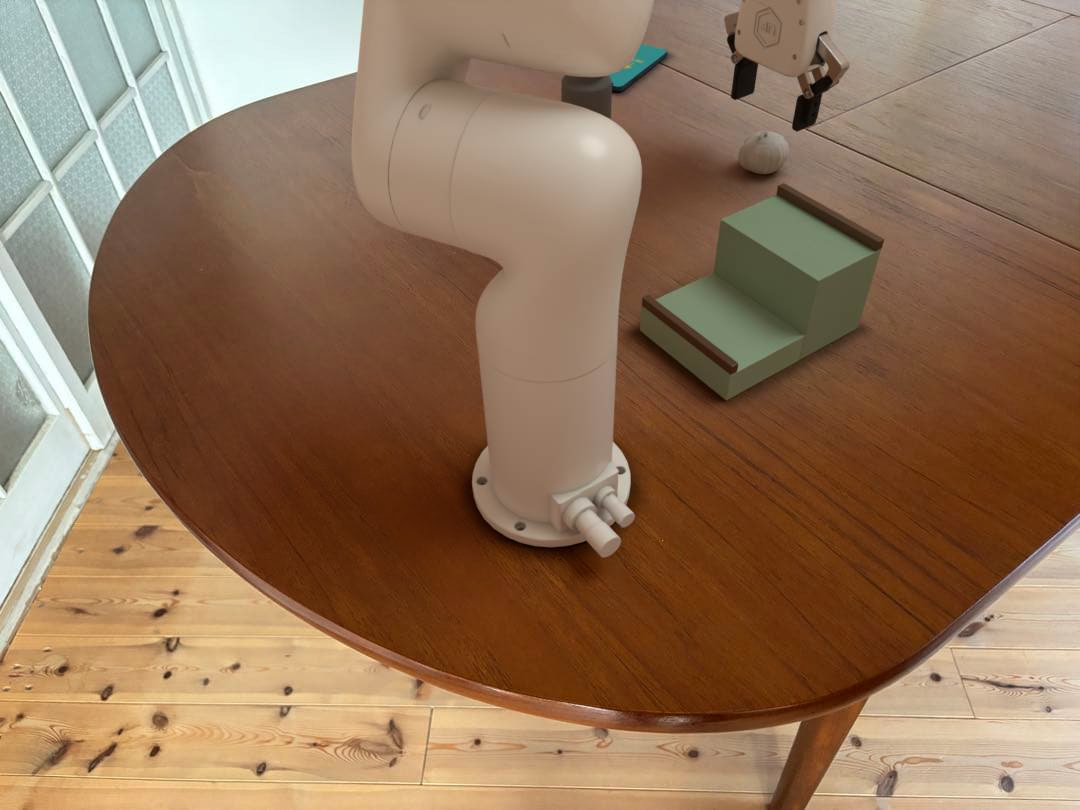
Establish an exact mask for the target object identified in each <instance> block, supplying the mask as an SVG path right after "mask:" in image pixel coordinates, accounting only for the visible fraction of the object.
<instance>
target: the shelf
mask: <svg viewBox="0 0 1080 810" xmlns="http://www.w3.org/2000/svg"><path fill="white" fill-rule="evenodd" d="M884 242H885V238H883V237H881V236H879V235H878V234H877V233H874V232H872V231H871V230H869V229H867V228H866V227H864V226H861V225H860V224H858V223H856V222H855V221H853V220H851V219H849V218H848V217H846V216H844V215H843V214H840V213H838V212H837V211H835V210H833V209H831V208H829V207H828V206H826V205H824V204H823V203H820V202H819V201H817V200H815V199H814V198H812V197H810V196H808V195H806V194H805V193H802V192H801V191H799V190H797V189H796V188H794V187H792V186H791V185H788V184H787V183H785V182H782V183H780V184H779V185H777V189H776V194H775V195H773V196H771V197H768V198H766V199H764V200H762V201H758V202H757V203H754V204H753V205H750V206H748V207H746V208H743V209H741V210H739V211H737V212H734V213H732V214H729V215H728V216H725V217H723V218H721V219H720V221H719V228H718V238H717V243H716V251H715V258H714V259H715V260H714V265H713V272H711V273H709V274H707V275H705V276H703V277H700V278H697V279H696V280H694V281H692V282H689V283H687V284H686V285H684V286H681V287H679V288H677V289H675V290H673V291H670V292H668V293H667V294H664V295H662V296H659V297H657V298H656V299H655V298H654V297H653V296H651V295H650V294H647V295H644V296H643V297H642V299H641V309H640V323H639V324H640V325H639V331H640V332H641V333H642V334H643V335H645V336H646V337H647V338H648V339H650V340H651V341H652V342H653V343H655V345H657V346H658V347H660V348H661V349H663V351H665V352H666V353H667V354H668V355H670V356H671V357H672V358H673V359H674V360H675V361H676V362H678V363H679V364H681V366H683V367H684V368H685V369H687V370H688V371H689V372H690V373H692V374H693V375H694V376H695V377H697V378H698V379H699V380H700V381H701V382H703V383H704V384H705V385H706V386H707V387H709V388H710V389H711V390H713V391H714V392H715V393H716V394H718V395H719V396H720V397H721V398H722V399H723V400H725V401H728V400H730V399H732V398H734V397H736V396H737V395H740V394H741V393H743V392H745V391H746V390H748V389H750V388H752V387H754V386H755V385H757V384H759V383H761V382H763V381H765V380H766V379H769V378H770V377H772V376H774V375H776V374H777V373H779V372H781V371H783V370H785V369H787V368H788V367H790V366H792V365H794V364H795V363H797V362H799V361H800V360H802V359H804V358H806V357H809V356H810V355H811V354H813V353H815V352H817V351H819V350H820V349H823V348H824V347H826V346H828V345H830V344H831V343H833V342H835V341H837V340H839V339H840V338H842V337H844V336H845V335H847V334H849V333H852V332H853V331H855V330H857V329H858V328H859V326H860V323H861V319H862V316H863V312H864V308H865V307H866V302H867V300H868V295H869V293H870V289H871V286H872V282H873V279H874V275H875V272H876V269H877V266H878V262H879V259H880V255H881V252H882V248H883V245H884Z"/></svg>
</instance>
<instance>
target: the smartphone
mask: <svg viewBox="0 0 1080 810" xmlns="http://www.w3.org/2000/svg"><path fill="white" fill-rule="evenodd" d="M668 53H669V51H668V50H667V49H666V48H662V47H656V46H652V45H648V44H642V43H641V45H640V47H639V49H638V51H637V53H636V55H635V56H634V58H633V60H632V61H631V62H630V63H629V64H628V65H627V66H626V67H625V68H623V69H622V70H621V71H619V72H616V73H614V74H611V75H609V76H610V77H611V79H612V91H614V92H623V91H624V90H626V89H627V88H628V87H630V86H631V85H632V84H633V83H635V82H636V81H638V80H639V79H640V78H641V77H643V76H644V75H645V74H646V73H647V72H649V71H650V70H651V69H653V68H654V67H655V66H656V65H658V64H659V63H661V62H662V61H663V60H664V59H666V58H667V57H668Z"/></svg>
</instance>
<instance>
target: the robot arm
mask: <svg viewBox="0 0 1080 810" xmlns="http://www.w3.org/2000/svg"><path fill="white" fill-rule="evenodd" d="M837 1H838V0H740V5H739V11H735V12H733V13H732V12H731V13H730V14H729V13H728V14H726V15H725V16H724V18H723V21H724V26H725V31H726V35H727V37H726V42H727V45H728V47H729V49H730V53H731V55H730V61H731V63H732V64H733V65H734V68H733V77H732V85H731V93H730V98H731V99H732V100H734V101H737V100H739V99H743V98H745V97H749V96H750V95H753V94H754V93H755V88H756V82H757V76H758V75H757V74H758V69H759V66H760V65H761V66H762V67H764V68H767V69H768V70H771V71H773V72H776V73H777V74H780V75H783V76H785V77H788V78H796V79H797V81H798V84H799V87H800V90H801V93H802V94H799V95H798V96H797V98H796V101H795V108H794V114H793V118H792V124H791V129H792V130H793V131H795V132H801V131H803V130H805V129H808V128H809V127H812V126H814V125H815V124H816V122H817V119H818V117H819V112H820V107H821V103H822V97H823V94H824V93H826V92H828V91H829V90H830V89H832V88H833V87H835V86H836V85H838V84H839V83H840V80H842V78H843V76H844V75H845V74H846V72H847V71H848V70H849V68H850V62H849V60H848V59H847V57H846V56H845V55H844V54H843V53H842V51H841V50H840V49H839V47H838V46H837V45H836V44H835V42H834V41H833V34H834V29H835V21H836V13H837V3H838V2H837ZM654 4H655V0H363V5H362V17H361V26H360V27H361V28H360V37H359V38H360V39H359V49H358V58H357V59H358V60H357V71H356V82H355V84H356V85H355V93H354V105H353V113H352V114H353V115H352V129H351V147H350V150H351V153H350V155H351V156H350V157H351V172H352V178H353V183H354V188H355V190H356V193H357V196H358V198H359V200H360V202H361V204H362V205H363V207H364V209H365V210H366V211H367V213H369V214H370V216H372V217H373V219H376V220H377V221H378V222H380V223H381V224H383V225H385V226H387V227H390V228H391V229H394V230H398V231H399V232H403V233H406V234H409V235H413V236H417V237H420V238H424V239H427V240H429V241H430V240H431V241H434V242H438V243H441V244H445V245H448V246H452V247H456V248H458V249H462V250H465V251H466V252H469V253H471V254H475V255H478V256H482V257H484V258H487V259H490V260H492V261H494V262H496V263H497V264H498V265H499V266H501V267H502V269H500V270H499V271H498V272H497V273H496V274H495V276H494V277H492V279H491V280H490V281H489V283H487V285H486V286H485V288H484V289H483V291H482V293H481V295H480V297H479V299H478V302H477V305H476V310H475V316H474V317H475V319H474V323H475V324H474V325H475V326H474V327H475V338H476V339H475V340H476V345H477V354H478V365H479V374H480V384H481V393H482V403H483V412H484V413H483V414H484V421H485V431H486V441H487V445H486V447H485V448H484V449H483V450H482V451H481V452H480V455H479V456H478V458H477V460H476V462H475V464H474V468H473V470H472V476H471V478H472V479H471V486H472V495H473V499H474V502H475V505H476V509H477V510H478V512H479V513H480V515H481V516H482V518H483V520H484V521H486V523H487V524H489V526H491V528H493V529H494V530H495V531H497V532H498V533H499V534H501V535H503V536H504V537H506V538H508V539H510V540H514V541H515V542H518V543H520V544H525V545H529V546H533V547H540V548H541V547H543V548H558V547H559V548H560V547H568V546H572V545H577V544H580V543H581V544H582V543H584V542H587V544H589V545H590V546H591V548H592V549H593V550H594V551H595V552H596V553H597V554H598V555H599V557H601V558H603V559H604V558H608V557H610V556H612V555H613V554H615V553H616V552H617V551H618V549H619V548H620V547H621V543H622V539H621V537H620V536H619V535H618V534H617V533H616V531H614V530H613V529H612V527H611V526H612V525H613V524H615V522H616V524H617V525H619V526H620V528H623V529H624V528H627V527H629V526H630V525H631V524H632V523H633V522H634V520H635V518H636V515H635V513H634V512H633V510H631V509H630V507H628V505H627V504H628V501H629V499H630V494H631V493H630V492H631V484H632V483H631V482H632V481H631V478H632V477H631V469H630V467H629V463H628V460H627V459H626V457H625V454H624V453H623V451H622V450H621V449H620V448H619V446H618V445H617V444H616V443H615V442H614V426H615V403H616V402H615V401H616V382H617V360H618V359H617V358H618V334H619V333H618V332H619V311H620V301H621V289H622V281H623V273H624V268H625V262H626V257H627V252H628V247H629V245H630V244H629V243H630V239H631V235H632V230H633V226H634V223H635V219H636V215H637V211H638V207H639V202H640V197H641V192H642V183H643V181H642V180H643V163H642V159H641V155H640V150H639V149H638V147H637V144H636V143H635V142H634V140H633V138H632V137H631V136H630V134H629V132H628V131H626V130H625V129H624V128H623V127H622V126H621V125H619V124H618V123H617V122H615V121H614V120H612V119H611V120H610V119H609V118H607V117H605V116H603V115H601V114H599V113H596V112H594V111H591V110H589V109H586V108H584V107H580V106H577V105H573V104H569V103H565V102H561V100H556V99H552V98H547V97H541V96H537V95H532V94H527V93H522V92H518V91H512V90H507V89H506V90H505V89H497V88H493V87H487V86H482V85H478V84H473V83H468V82H466V79H467V76H468V75H467V74H468V71H469V67H470V64H471V60H472V59H475V60H480V61H485V62H491V63H496V64H501V65H504V66H505V65H507V66H511V67H516V68H522V69H527V70H530V71H531V70H532V71H537V72H543V73H548V74H555V75H562V76H565V75H568V76H577V77H602V76H608V75H611V74H614V73H616V72H619V71H621V70H622V69H623V68H625V67H626V66H627V65H628V64H629V63H630V62H631V61H632V60H633V58H634V56H635V55H636V53H637V51H638V49H639V47H640V45H641V44H642V43H643V41H644V38H645V35H646V34H647V33H646V32H647V29H648V25H649V22H650V19H651V17H652V12H653V8H654ZM826 64H827V71H826V72H825V69H824V67H825V65H826ZM810 73H811V74H812V77H813V80H814V82H812V79H811V76H810Z"/></svg>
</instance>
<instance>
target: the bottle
mask: <svg viewBox="0 0 1080 810" xmlns="http://www.w3.org/2000/svg"><path fill="white" fill-rule="evenodd" d="M560 86H561V88H560V90H561V93H560V94H561V96H560V98H561V99H560V101H561V102H565V103H569V104H573V105H577V106H580V107H584V108H586V109H589V110H591V111H594V112H596V113H599V114H601V115H603V116H605V117H607V118H609V119H610V120H612V102H613V101H612V100H613V99H612V98H613V96H612V94H613V90H612V79H611V77H610V76H609V75H608V76H602V77H577V76H568V75H563V77H562V78H561V85H560Z"/></svg>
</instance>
